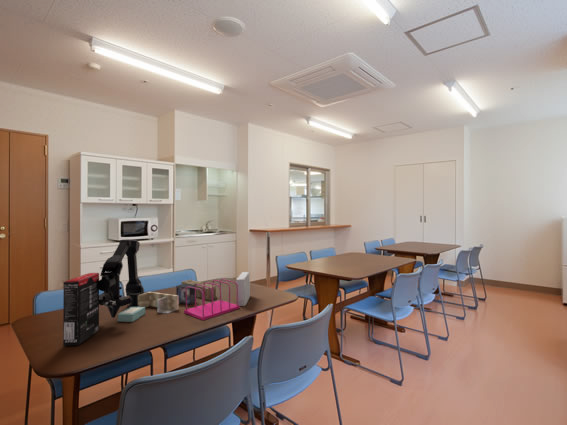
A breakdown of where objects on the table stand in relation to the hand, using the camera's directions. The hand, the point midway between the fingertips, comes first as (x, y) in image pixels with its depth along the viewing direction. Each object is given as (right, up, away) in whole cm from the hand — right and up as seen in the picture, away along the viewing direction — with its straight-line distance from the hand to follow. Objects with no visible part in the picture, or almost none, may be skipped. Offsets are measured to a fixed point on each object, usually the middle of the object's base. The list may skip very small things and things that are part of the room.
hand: (113, 317), depth 150 cm
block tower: (+28, -4, +53) cm, 59 cm away
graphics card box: (-4, -4, -16) cm, 17 cm away
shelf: (+13, -3, +23) cm, 26 cm away
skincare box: (+59, -3, +39) cm, 71 cm away
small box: (+24, -4, +36) cm, 44 cm away
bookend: (+19, -3, +20) cm, 27 cm away
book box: (+4, -4, +10) cm, 12 cm away
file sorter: (+44, -4, +20) cm, 49 cm away
